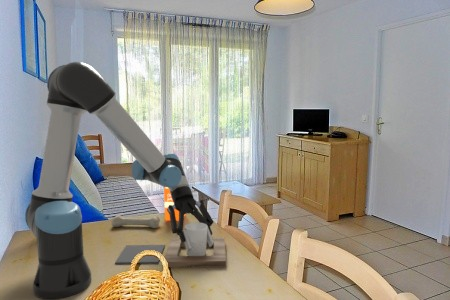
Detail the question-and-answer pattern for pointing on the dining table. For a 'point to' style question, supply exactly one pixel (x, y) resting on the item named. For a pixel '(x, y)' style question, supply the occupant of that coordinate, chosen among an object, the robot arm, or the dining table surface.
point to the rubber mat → (133, 250)
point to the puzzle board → (196, 261)
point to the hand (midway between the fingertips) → (200, 247)
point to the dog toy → (135, 221)
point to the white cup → (197, 238)
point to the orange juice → (169, 202)
